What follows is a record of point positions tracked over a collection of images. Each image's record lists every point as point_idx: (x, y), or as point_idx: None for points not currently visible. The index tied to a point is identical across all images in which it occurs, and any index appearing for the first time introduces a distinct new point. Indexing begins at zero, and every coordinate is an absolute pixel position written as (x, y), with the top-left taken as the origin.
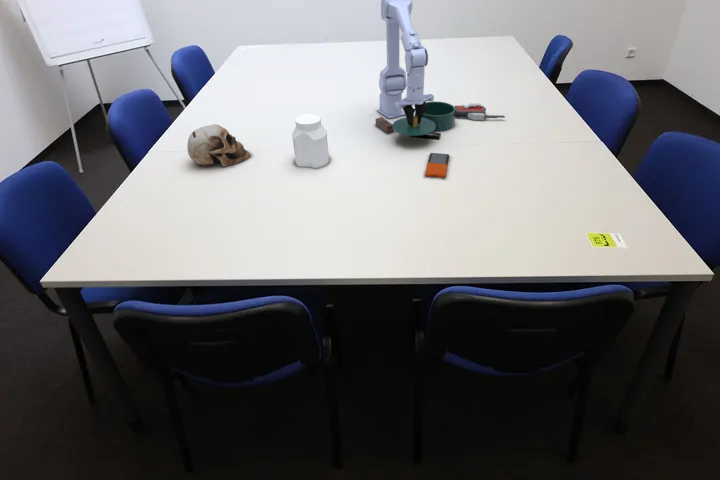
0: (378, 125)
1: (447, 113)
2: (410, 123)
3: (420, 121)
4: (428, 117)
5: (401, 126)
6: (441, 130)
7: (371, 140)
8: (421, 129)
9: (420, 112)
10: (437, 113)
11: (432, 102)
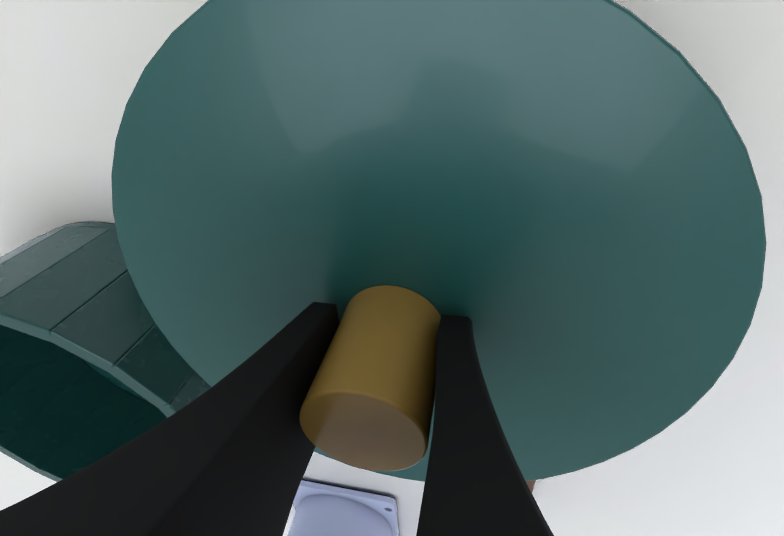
0: None
1: (39, 366)
2: (474, 351)
3: (293, 320)
4: (163, 373)
5: (555, 383)
6: None
7: (736, 399)
8: (364, 161)
9: (217, 469)
10: (111, 400)
11: None
